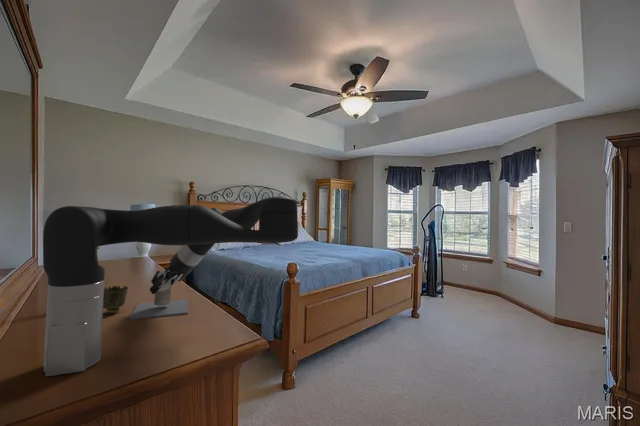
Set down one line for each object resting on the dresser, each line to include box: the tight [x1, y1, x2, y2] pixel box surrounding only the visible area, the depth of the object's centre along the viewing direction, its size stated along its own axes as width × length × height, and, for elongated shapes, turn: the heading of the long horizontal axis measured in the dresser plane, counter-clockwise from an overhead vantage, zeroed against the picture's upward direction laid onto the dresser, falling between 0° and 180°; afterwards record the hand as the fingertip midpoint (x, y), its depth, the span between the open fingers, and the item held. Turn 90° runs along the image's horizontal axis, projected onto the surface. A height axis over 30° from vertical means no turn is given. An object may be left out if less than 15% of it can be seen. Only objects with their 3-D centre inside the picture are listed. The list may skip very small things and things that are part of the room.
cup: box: [103, 285, 128, 315], centre depth 95 cm, size 8×7×8 cm
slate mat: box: [129, 299, 189, 321], centre depth 100 cm, size 16×16×1 cm
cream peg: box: [153, 276, 172, 306], centre depth 100 cm, size 5×5×10 cm
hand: (158, 289), depth 100 cm, fingers closed on cream peg, 4 cm apart
